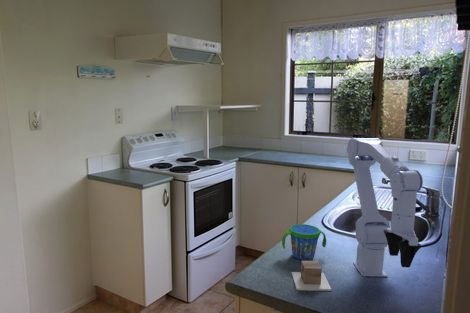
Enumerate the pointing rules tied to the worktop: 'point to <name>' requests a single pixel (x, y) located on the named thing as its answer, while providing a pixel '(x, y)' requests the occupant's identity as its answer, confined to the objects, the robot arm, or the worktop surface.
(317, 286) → the cream tile
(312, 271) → the walnut block
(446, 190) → the worktop surface
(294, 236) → the snack cup
